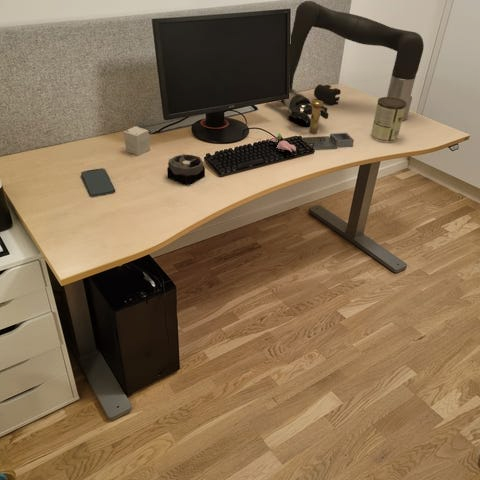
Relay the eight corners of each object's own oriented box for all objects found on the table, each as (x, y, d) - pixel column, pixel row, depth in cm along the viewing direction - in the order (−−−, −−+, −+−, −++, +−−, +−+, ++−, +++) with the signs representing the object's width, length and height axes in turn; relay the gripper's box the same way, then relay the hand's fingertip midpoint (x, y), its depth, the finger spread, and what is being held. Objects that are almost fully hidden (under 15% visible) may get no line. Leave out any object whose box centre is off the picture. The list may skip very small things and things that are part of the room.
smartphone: (89, 195, 133) (80, 171, 143) (90, 200, 134) (80, 176, 144) (116, 190, 136) (104, 167, 146) (116, 195, 137) (105, 171, 147)
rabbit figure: (262, 147, 170) (286, 157, 158) (262, 131, 167) (286, 140, 155) (277, 144, 172) (301, 154, 160) (277, 128, 169) (301, 137, 158)
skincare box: (150, 150, 161) (149, 130, 156) (138, 156, 157) (136, 135, 152) (137, 145, 163) (136, 125, 159) (125, 151, 159) (123, 131, 155)
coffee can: (373, 130, 184) (380, 95, 176) (399, 135, 180) (408, 99, 172) (367, 139, 176) (375, 103, 168) (395, 145, 173) (404, 108, 165)
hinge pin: (316, 129, 182) (320, 99, 175) (320, 134, 178) (325, 103, 171) (305, 130, 181) (309, 100, 174) (309, 134, 177) (313, 104, 170)
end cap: (312, 100, 211) (314, 85, 207) (323, 97, 214) (326, 82, 210) (328, 106, 204) (330, 91, 200) (339, 104, 208) (342, 89, 204)
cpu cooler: (209, 159, 144) (188, 171, 137) (209, 176, 147) (188, 188, 140) (183, 150, 149) (162, 161, 142) (184, 166, 152) (163, 178, 145)
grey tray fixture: (344, 137, 176) (345, 131, 175) (354, 147, 169) (355, 141, 168) (298, 140, 173) (298, 133, 171) (305, 150, 166) (306, 143, 164)
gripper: (282, 95, 182) (302, 109, 170) (313, 92, 187) (335, 106, 175) (280, 114, 186) (299, 129, 174) (311, 110, 191) (332, 125, 179)
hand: (317, 117), depth 175 cm, fingers open, 8 cm apart
